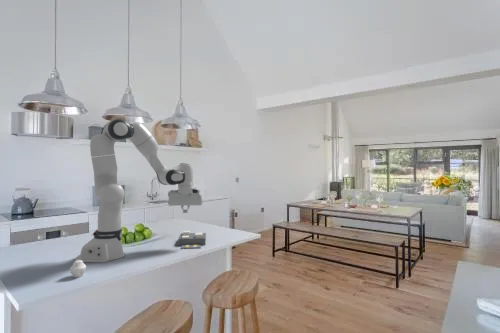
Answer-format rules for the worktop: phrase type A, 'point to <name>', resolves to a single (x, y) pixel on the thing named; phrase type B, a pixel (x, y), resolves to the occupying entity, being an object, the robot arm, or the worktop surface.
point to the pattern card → (190, 246)
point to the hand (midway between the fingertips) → (185, 212)
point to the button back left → (186, 233)
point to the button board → (192, 240)
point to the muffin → (78, 268)
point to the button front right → (198, 235)
